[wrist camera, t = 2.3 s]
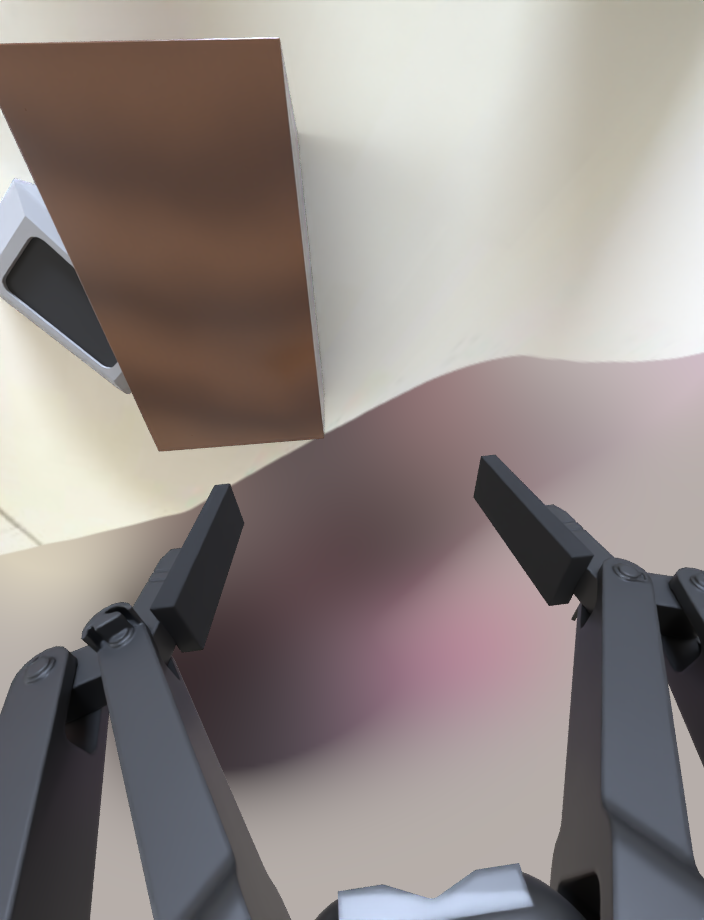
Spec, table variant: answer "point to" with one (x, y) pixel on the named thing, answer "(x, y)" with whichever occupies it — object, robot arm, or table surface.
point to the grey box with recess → (49, 281)
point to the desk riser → (181, 224)
